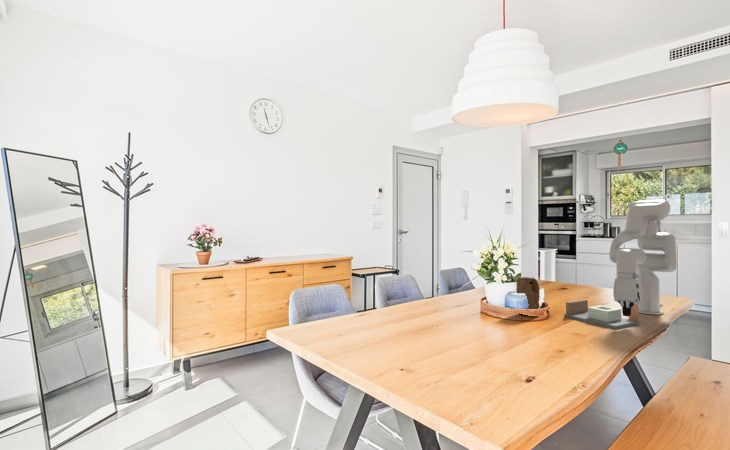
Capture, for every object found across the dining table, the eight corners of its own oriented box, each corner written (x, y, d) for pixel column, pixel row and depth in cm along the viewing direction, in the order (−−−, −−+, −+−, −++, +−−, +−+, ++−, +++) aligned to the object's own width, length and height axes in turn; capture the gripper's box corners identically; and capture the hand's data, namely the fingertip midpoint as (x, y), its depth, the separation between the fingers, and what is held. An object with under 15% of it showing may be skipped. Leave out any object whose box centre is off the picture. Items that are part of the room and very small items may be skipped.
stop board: (586, 313, 202) (585, 299, 202) (638, 324, 178) (638, 308, 178) (564, 316, 195) (564, 302, 195) (615, 329, 171) (615, 312, 171)
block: (515, 314, 202) (514, 277, 202) (524, 312, 206) (523, 275, 206) (532, 318, 193) (532, 279, 193) (542, 316, 196) (541, 278, 196)
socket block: (601, 315, 191) (600, 305, 191) (621, 319, 182) (621, 309, 182) (587, 317, 186) (587, 307, 186) (608, 322, 177) (607, 311, 177)
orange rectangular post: (631, 319, 187) (631, 299, 187) (640, 321, 184) (640, 300, 183) (626, 320, 185) (626, 300, 185) (635, 322, 182) (635, 301, 182)
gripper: (648, 277, 169) (649, 318, 169) (615, 273, 183) (615, 311, 182) (638, 278, 166) (639, 320, 166) (605, 274, 179) (605, 313, 179)
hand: (626, 315), depth 174 cm, fingers closed
